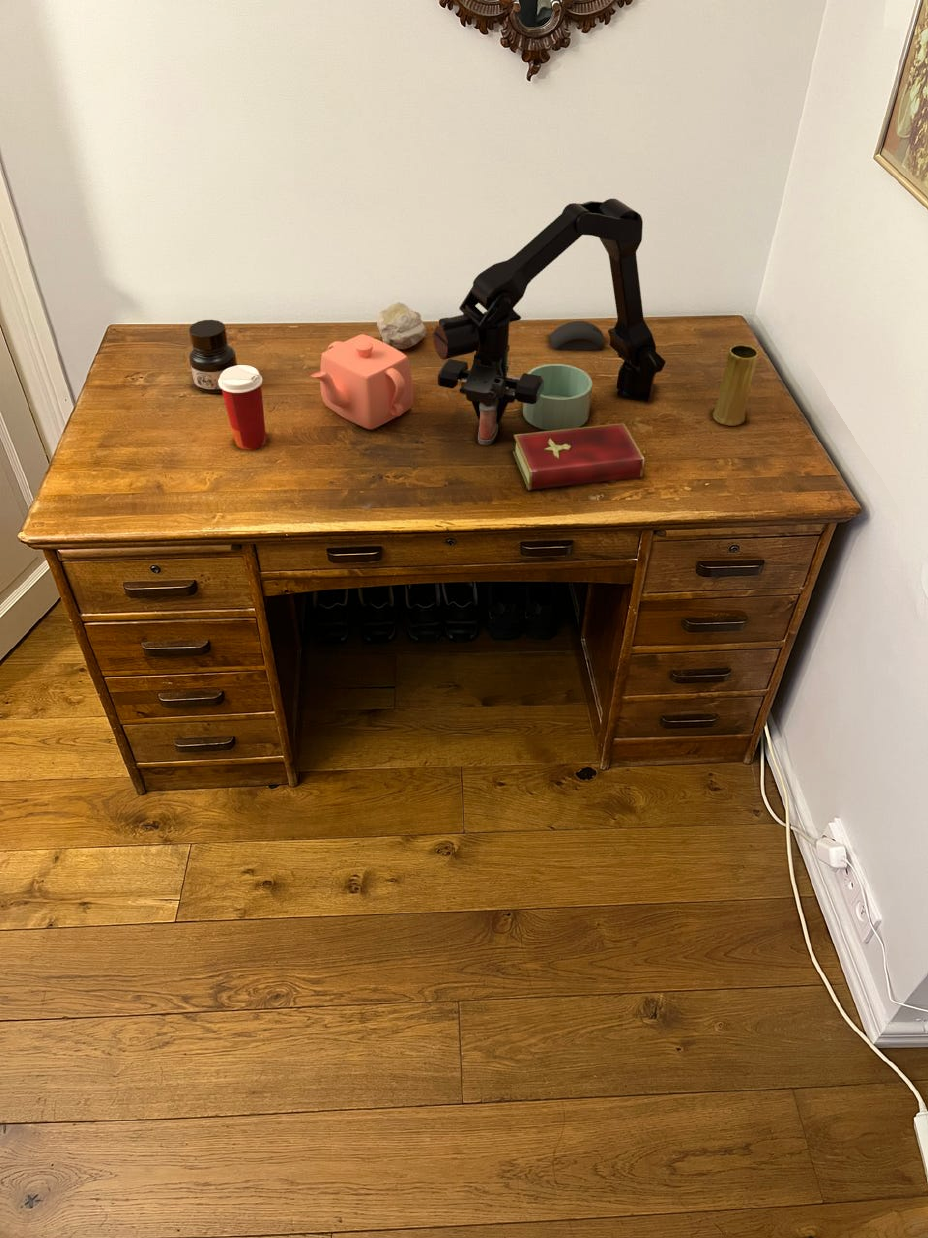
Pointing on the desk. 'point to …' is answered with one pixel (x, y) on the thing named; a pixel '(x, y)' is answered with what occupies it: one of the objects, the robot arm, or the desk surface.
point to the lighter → (488, 422)
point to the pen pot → (560, 398)
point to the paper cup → (244, 405)
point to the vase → (735, 385)
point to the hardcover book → (578, 456)
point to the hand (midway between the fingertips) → (489, 420)
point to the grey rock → (400, 326)
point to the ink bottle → (210, 354)
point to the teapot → (365, 381)
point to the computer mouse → (577, 337)
